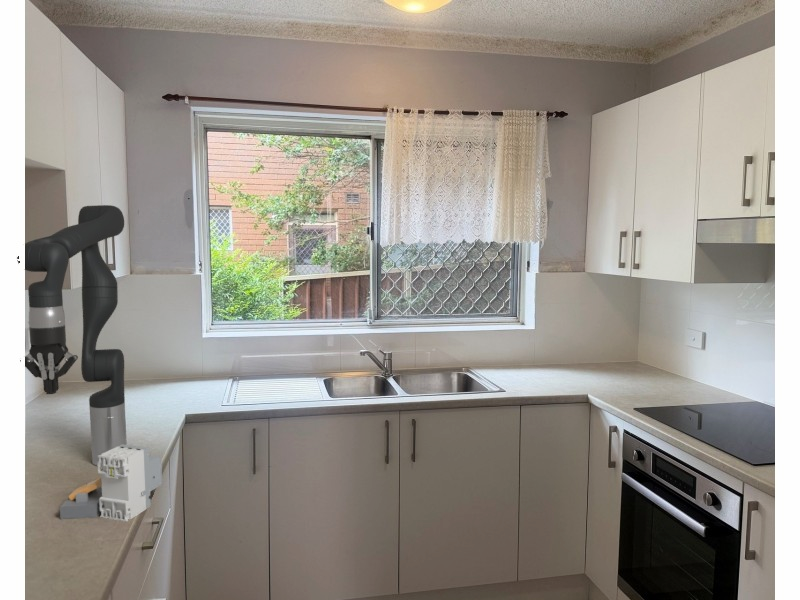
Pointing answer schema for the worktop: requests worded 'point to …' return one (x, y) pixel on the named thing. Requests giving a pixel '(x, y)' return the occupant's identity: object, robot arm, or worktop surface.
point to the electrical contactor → (127, 481)
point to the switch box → (82, 505)
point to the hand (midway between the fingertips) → (51, 393)
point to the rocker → (86, 488)
